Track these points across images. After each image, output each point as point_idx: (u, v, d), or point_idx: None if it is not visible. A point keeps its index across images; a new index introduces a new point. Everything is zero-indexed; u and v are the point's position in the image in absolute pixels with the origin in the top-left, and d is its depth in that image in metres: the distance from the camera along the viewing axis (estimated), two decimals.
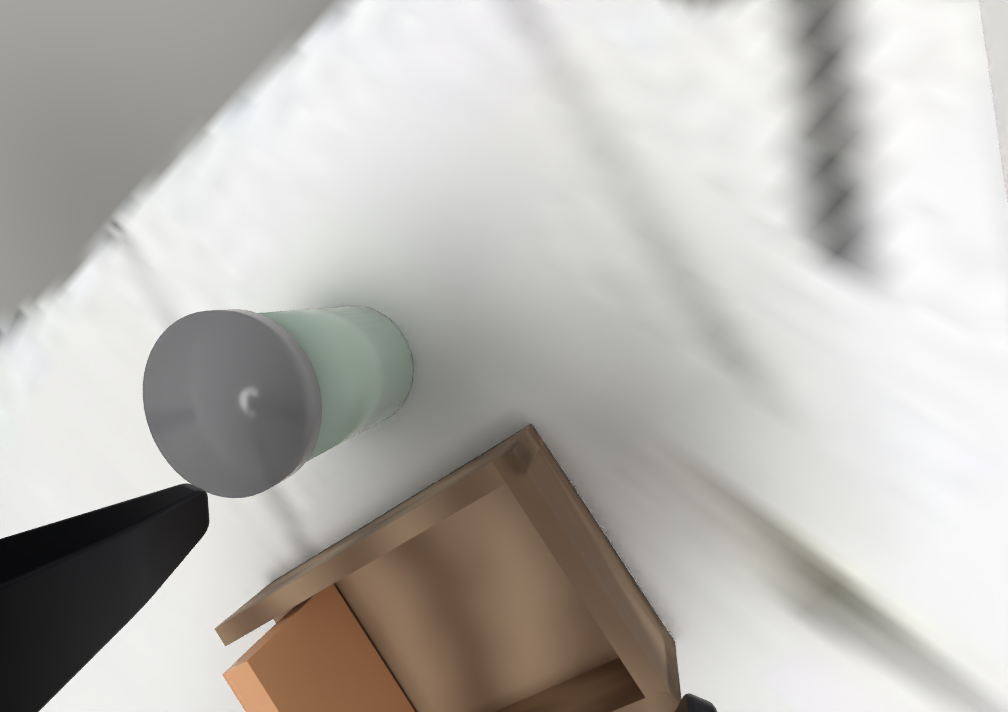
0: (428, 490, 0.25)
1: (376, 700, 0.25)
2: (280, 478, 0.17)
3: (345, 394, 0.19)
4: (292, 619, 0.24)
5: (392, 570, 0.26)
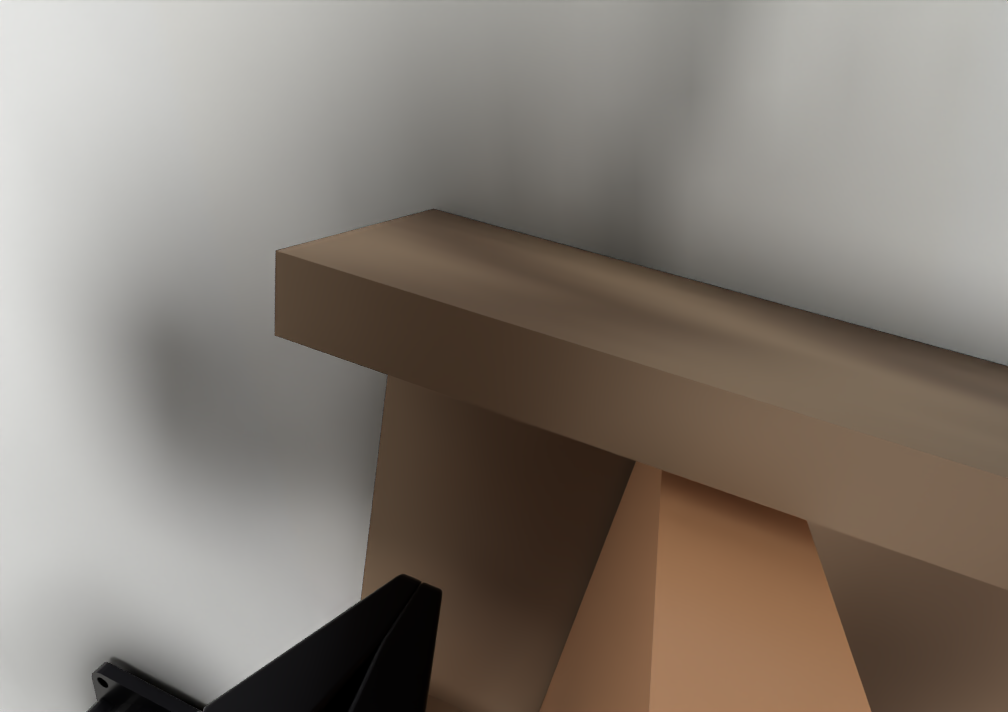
0: None
1: None
2: None
3: None
4: (822, 590, 0.05)
5: None
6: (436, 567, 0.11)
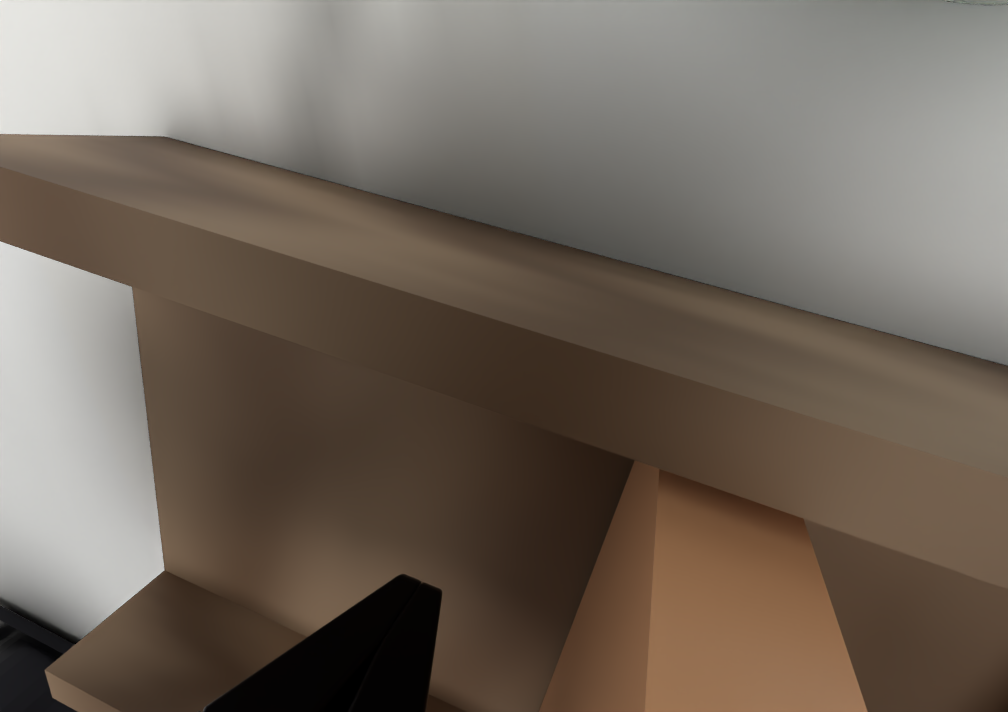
0: (846, 343, 0.07)
1: None
2: None
3: None
4: None
5: None
6: (206, 471, 0.12)
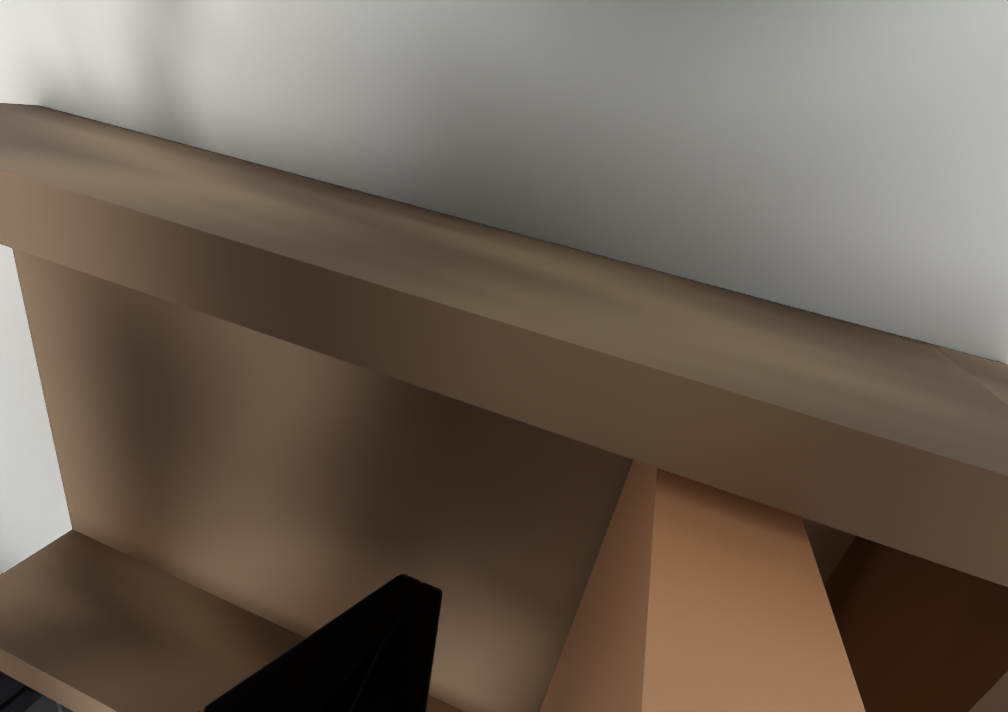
0: (605, 276, 0.07)
1: None
2: None
3: None
4: None
5: None
6: (97, 428, 0.13)
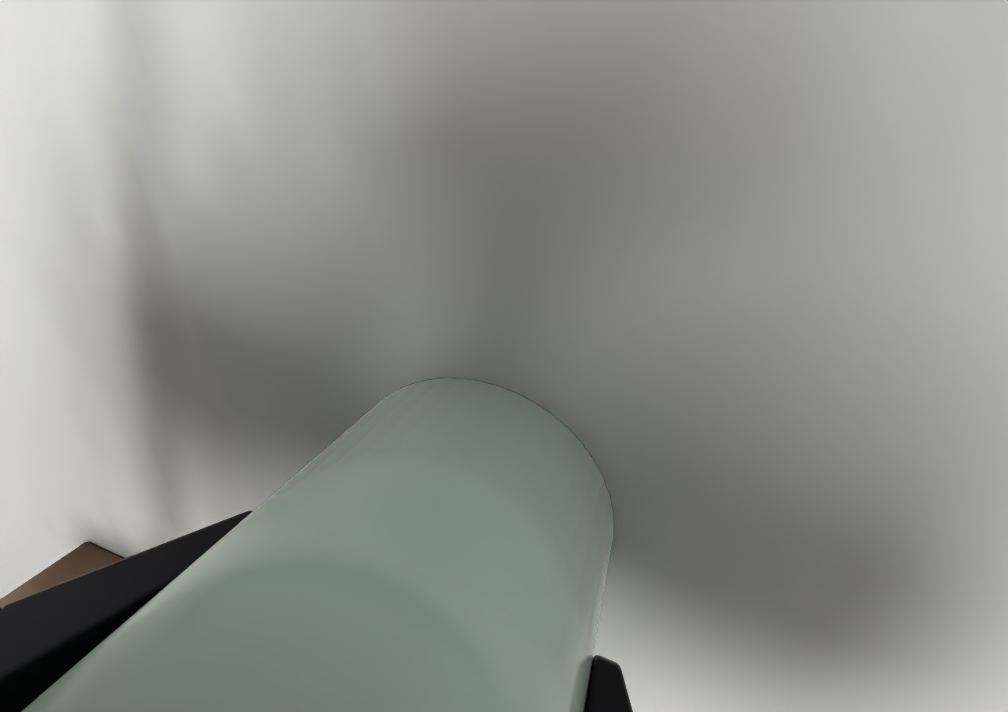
0: None
1: None
2: None
3: None
4: None
5: None
6: None
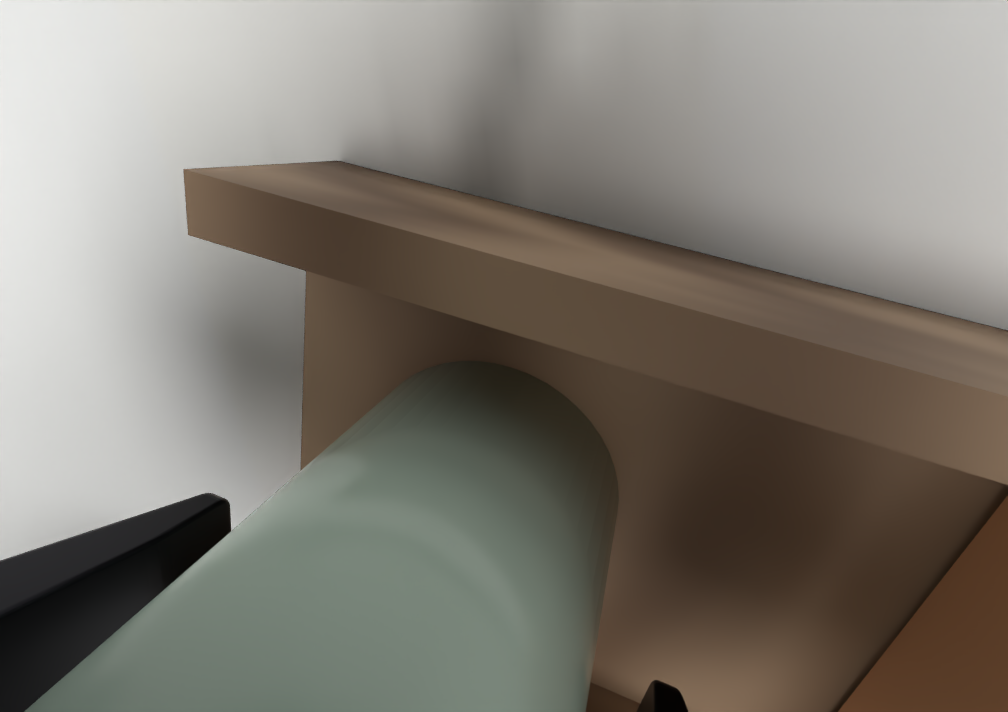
0: (1002, 344, 0.08)
1: None
2: None
3: None
4: None
5: (667, 392, 0.10)
6: None
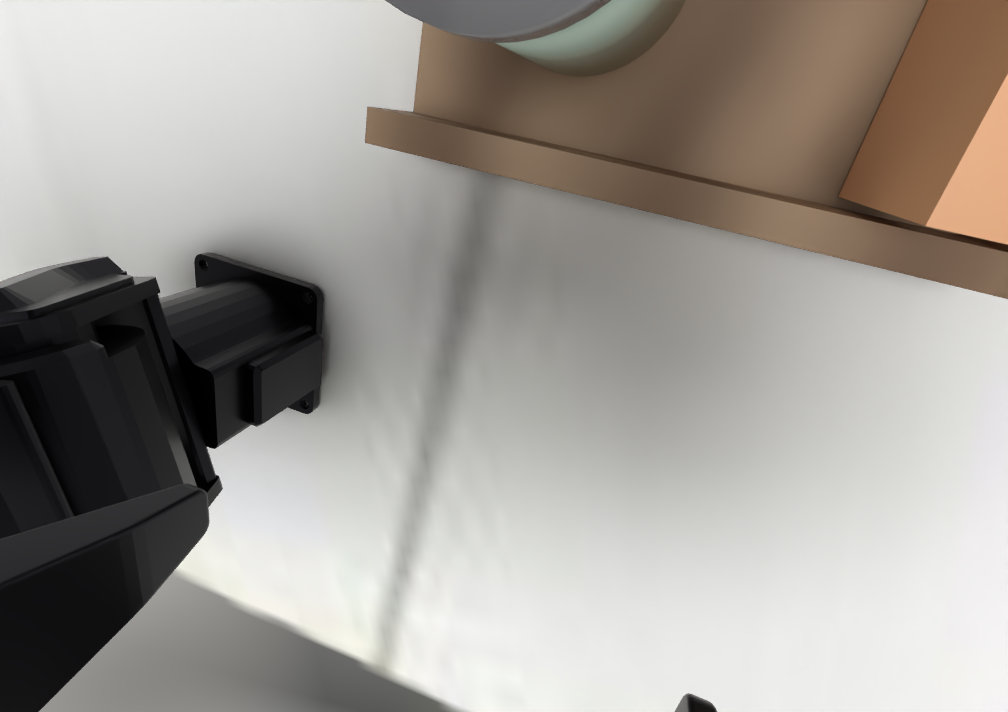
0: None
1: None
2: (477, 31, 0.08)
3: None
4: None
5: None
6: None
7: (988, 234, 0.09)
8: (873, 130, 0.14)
